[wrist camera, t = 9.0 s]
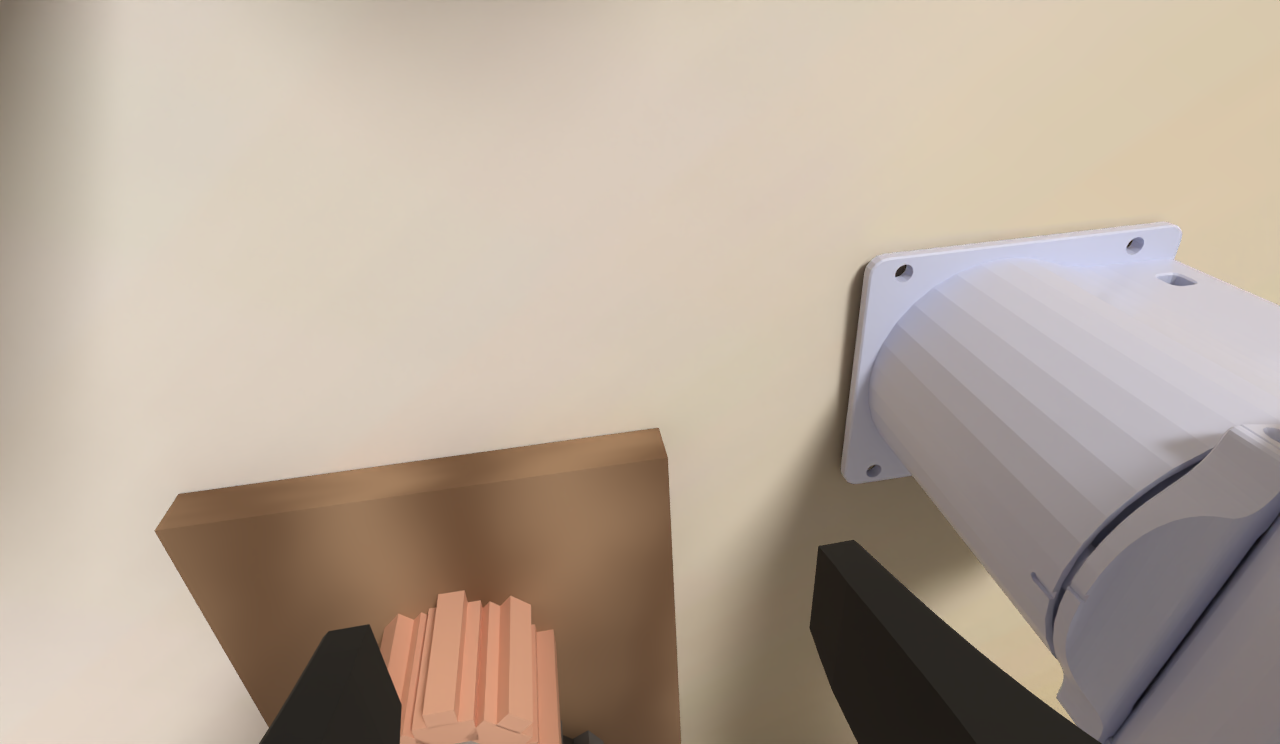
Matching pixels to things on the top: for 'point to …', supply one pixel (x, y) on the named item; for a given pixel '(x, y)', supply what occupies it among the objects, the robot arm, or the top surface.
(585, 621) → the board
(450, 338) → the top surface
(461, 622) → the terracotta gear
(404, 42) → the top surface
